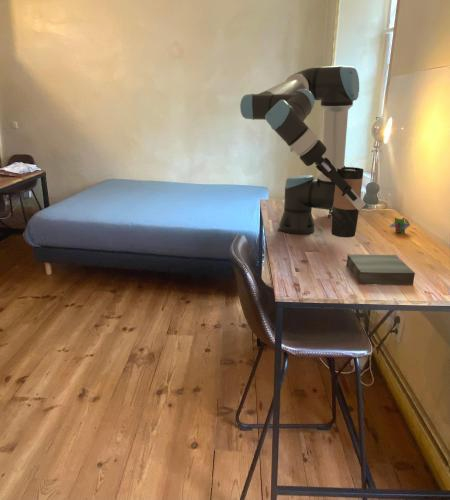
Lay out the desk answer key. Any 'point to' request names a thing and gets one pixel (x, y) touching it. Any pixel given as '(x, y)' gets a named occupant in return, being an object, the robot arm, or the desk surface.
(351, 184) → the travel mug
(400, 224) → the geometric puzzle
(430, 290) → the desk surface
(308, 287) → the desk surface
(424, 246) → the desk surface
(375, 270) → the stand
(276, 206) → the desk surface
